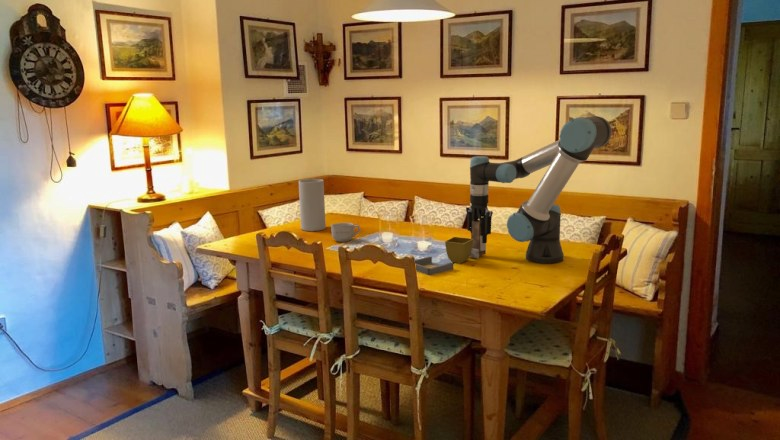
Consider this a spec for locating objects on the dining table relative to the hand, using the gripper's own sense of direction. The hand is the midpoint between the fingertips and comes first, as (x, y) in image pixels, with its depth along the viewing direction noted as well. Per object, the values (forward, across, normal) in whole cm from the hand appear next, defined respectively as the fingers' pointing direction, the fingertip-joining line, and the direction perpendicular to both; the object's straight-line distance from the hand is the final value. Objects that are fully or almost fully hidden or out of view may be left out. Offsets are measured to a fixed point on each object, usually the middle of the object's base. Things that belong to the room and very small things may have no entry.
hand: (478, 249), depth 269 cm
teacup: (+4, -61, -26) cm, 67 cm away
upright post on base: (+2, 0, -2) cm, 3 cm away
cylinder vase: (+4, -94, -25) cm, 98 cm away
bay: (+3, +1, -27) cm, 27 cm away
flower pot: (+3, 0, -12) cm, 12 cm away
